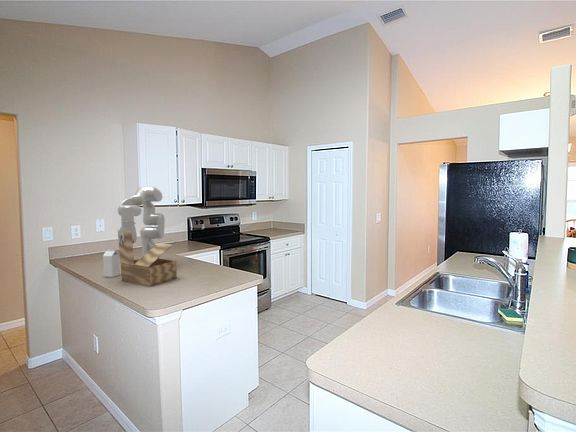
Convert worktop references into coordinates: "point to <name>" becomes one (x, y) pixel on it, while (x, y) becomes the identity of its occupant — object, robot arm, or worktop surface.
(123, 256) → the flap
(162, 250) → the flap
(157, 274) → the carton
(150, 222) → the robot arm
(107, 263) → the milk carton
